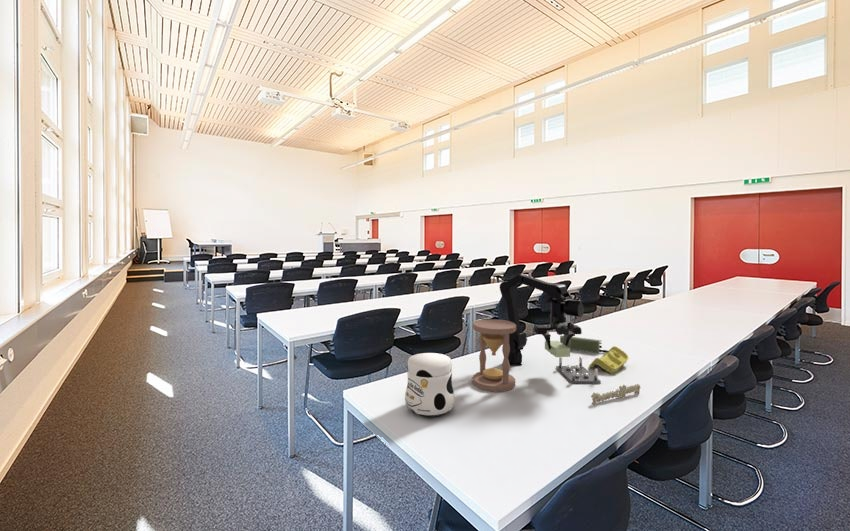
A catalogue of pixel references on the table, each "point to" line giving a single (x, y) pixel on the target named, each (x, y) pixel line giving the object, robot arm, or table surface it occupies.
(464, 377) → the table surface
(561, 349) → the board
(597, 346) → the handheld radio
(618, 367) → the plastic component
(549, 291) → the robot arm
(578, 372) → the chassis
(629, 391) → the decorative sign
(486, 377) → the hourglass
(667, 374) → the table surface
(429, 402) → the milk container
